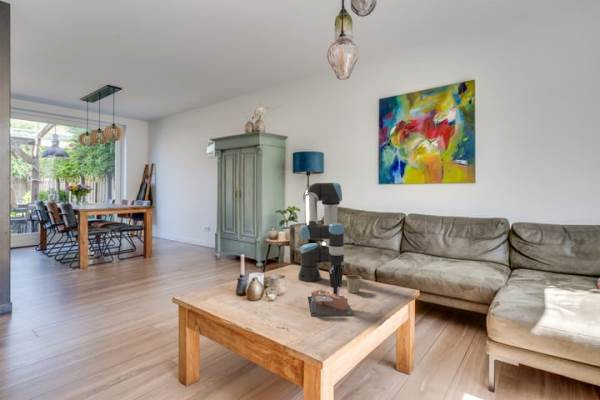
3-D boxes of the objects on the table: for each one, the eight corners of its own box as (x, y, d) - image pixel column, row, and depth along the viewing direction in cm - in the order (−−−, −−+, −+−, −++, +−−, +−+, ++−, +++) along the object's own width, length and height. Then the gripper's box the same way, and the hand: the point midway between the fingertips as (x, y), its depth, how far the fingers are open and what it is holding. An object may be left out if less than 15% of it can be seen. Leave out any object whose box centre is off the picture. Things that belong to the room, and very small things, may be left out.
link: (311, 301, 163) (311, 292, 163) (319, 298, 168) (319, 289, 167) (341, 311, 150) (341, 301, 149) (349, 307, 154) (349, 297, 154)
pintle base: (307, 298, 171) (307, 283, 170) (343, 297, 171) (343, 283, 171) (310, 316, 147) (310, 298, 146) (352, 315, 147) (352, 298, 147)
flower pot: (360, 289, 186) (360, 275, 185) (362, 294, 176) (362, 279, 176) (345, 289, 187) (345, 274, 186) (345, 294, 177) (345, 279, 177)
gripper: (335, 251, 165) (335, 294, 166) (323, 255, 155) (323, 301, 156) (348, 252, 161) (348, 297, 162) (336, 257, 151) (336, 305, 151)
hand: (336, 299), depth 159 cm, fingers closed
